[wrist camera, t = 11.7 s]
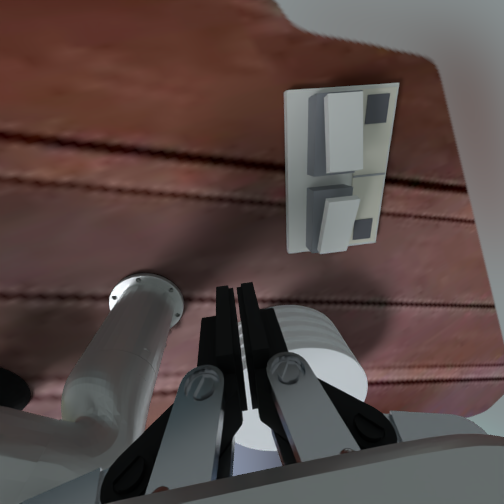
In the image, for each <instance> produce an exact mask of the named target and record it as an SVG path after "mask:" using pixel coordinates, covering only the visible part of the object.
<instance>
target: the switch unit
mask: <svg viewBox="0 0 504 504" xmlns="http://www.w3.org/2000/svg"><path fill="white" fill-rule="evenodd" d="M398 89H399V83H387V84H373V85H358V86H343V87H328V88H313V89H298V90H286V91H285V92H284V128H285V182H286V236H287V251H288V253H289V254H290V253H298V252H306V251H310V252H311V253H319V252H318V250H317V247H318V242H319V236H320V230H321V224H322V218H323V212H324V207H325V201H326V198H335V197H344V196H353V195H357V196H358V197H359V198H360V199H361V200H360V203H359V207H358V211H357V214H356V218H355V222H354V225H353V229H352V233H351V236H350V240H349V244H348V246H353V245H360V244H368V243H375V242H376V236H377V229H378V222H379V216H380V209H381V202H382V196H383V189H384V182H385V176H386V169H387V162H388V156H389V149H390V142H391V136H392V129H393V122H394V116H395V109H396V102H397V96H398ZM359 91H363V169H362V170H357V171H347V172H337V173H327V174H326V145H325V115H324V97H325V96H326V95H327V94H330V93H345V92H359Z"/></svg>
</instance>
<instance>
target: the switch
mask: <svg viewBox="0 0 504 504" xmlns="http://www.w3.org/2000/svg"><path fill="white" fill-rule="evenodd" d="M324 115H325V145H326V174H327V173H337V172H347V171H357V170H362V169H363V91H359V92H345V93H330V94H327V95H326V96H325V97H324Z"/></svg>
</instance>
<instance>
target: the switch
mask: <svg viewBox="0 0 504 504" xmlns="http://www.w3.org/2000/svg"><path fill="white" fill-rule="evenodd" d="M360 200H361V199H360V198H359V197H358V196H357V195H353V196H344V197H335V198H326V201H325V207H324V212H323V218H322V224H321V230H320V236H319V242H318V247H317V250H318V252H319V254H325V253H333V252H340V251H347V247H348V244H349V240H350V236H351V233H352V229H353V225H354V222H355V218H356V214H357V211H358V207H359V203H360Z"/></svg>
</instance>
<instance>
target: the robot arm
mask: <svg viewBox="0 0 504 504" xmlns="http://www.w3.org/2000/svg"><path fill="white" fill-rule="evenodd" d="M237 294H238V302H239V310H240V318H241V326H242V334H243V342H244V350H245V357H246V365H247V372H248V380H249V387H250V395H251V403H252V410H253V409H258V413H259V418H260V421H262V422H263V423H264V424H266V425H267V426H268V427H270V428H271V432H272V436H273V439H274V442H275V445H276V448H277V451H278V454H279V457H280V460H281V463H282V466H281V467H276V468H271V469H266V470H261V471H256V472H252V473H247V474H242V475H237V476H232V475H233V461H234V446H235V434H236V433H237V431H238V430H239V428H240V427H241V426H242V424H243V423H242V421H243V413H242V411H247V410H248V408H247V399H246V390H245V381H244V372H243V364H242V355H241V346H240V338H239V330H238V322H237V314H236V307H235V299H234V292H233V288H228V286H220V287H216V316H212V317H206V318H202V320H201V331H200V341H199V352H198V363H197V367H196V368H194V369H192V370H191V371H189V372H188V373H187V374H186V375H185V376H184V378H183V379H182V381H181V383H180V385H179V389H178V392H177V395H176V398H175V401H174V403H173V404H172V405H171V406H170V407H169V408H168V409H167V410H166V411H165V412H164V413H163V414H162V415H161V416H160V417H159V418H158V419H157V420H156V421H155V422H154V423H153V424H152V425H151V426H150V427H149V428H148V429H147V430H146V431H145V426H146V421H147V416H148V411H149V406H150V402H151V398H152V394H153V390H154V386H155V383H156V379H157V375H158V371H159V368H160V364H161V360H162V356H163V352H164V348H165V347H166V341H167V337H168V333H169V329H170V328H171V327H173V326H174V325H175V324H176V323H177V322H178V321H179V319H180V318H181V316H182V313H183V309H184V299H183V296H182V294H181V292H180V290H179V289H178V287H177V286H176V285H175V284H174V283H172V282H171V281H170V280H168V279H166V278H164V277H162V276H159V275H155V274H149V273H141V274H134V275H131V276H128V277H126V278H124V279H123V280H121V281H120V282H119V283H118V284H117V285H116V286H115V287H114V289H113V290H112V292H111V294H110V297H109V308H110V313H109V314H108V316H107V317H106V319H105V320H104V322H103V324H102V325H101V327H100V328H99V330H98V331H97V333H96V334H95V336H94V337H93V339H92V341H91V342H90V344H89V345H88V347H87V348H86V350H85V351H84V353H83V354H82V356H81V358H80V359H79V361H78V362H77V364H76V365H75V367H74V368H73V370H72V372H71V373H70V375H69V377H68V379H67V381H66V383H65V386H64V389H63V394H62V400H61V413H62V420H61V419H60V420H57V419H53V418H49V417H45V416H41V415H37V414H33V413H29V412H25V411H21V410H17V409H13V408H9V407H4V406H0V504H504V437H500V436H493V435H488V434H487V433H486V432H485V431H484V430H483V429H482V428H481V427H479V426H478V425H477V424H475V423H474V422H472V421H470V420H468V419H466V418H464V417H461V416H457V415H451V414H435V413H419V412H403V411H390V414H383V413H381V412H380V411H378V410H377V409H375V408H374V407H372V406H370V405H368V404H366V403H364V402H362V401H361V400H359V399H357V398H355V397H353V396H351V395H349V394H347V393H345V392H344V391H342V390H340V389H338V388H336V387H334V386H332V385H330V384H328V383H327V382H325V381H323V380H321V379H319V378H317V377H316V375H315V374H314V372H313V371H312V369H311V367H310V366H309V364H308V362H307V361H306V360H305V359H304V358H303V357H302V356H300V355H299V354H296V353H293V352H288V349H287V346H286V343H285V340H284V337H283V334H282V331H281V328H280V325H279V322H278V320H277V317H276V314H275V311H274V308H267V309H260V310H259V306H258V302H257V298H256V294H255V290H254V287H253V283H252V282H249V283H242V284H241V287H237Z"/></svg>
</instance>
